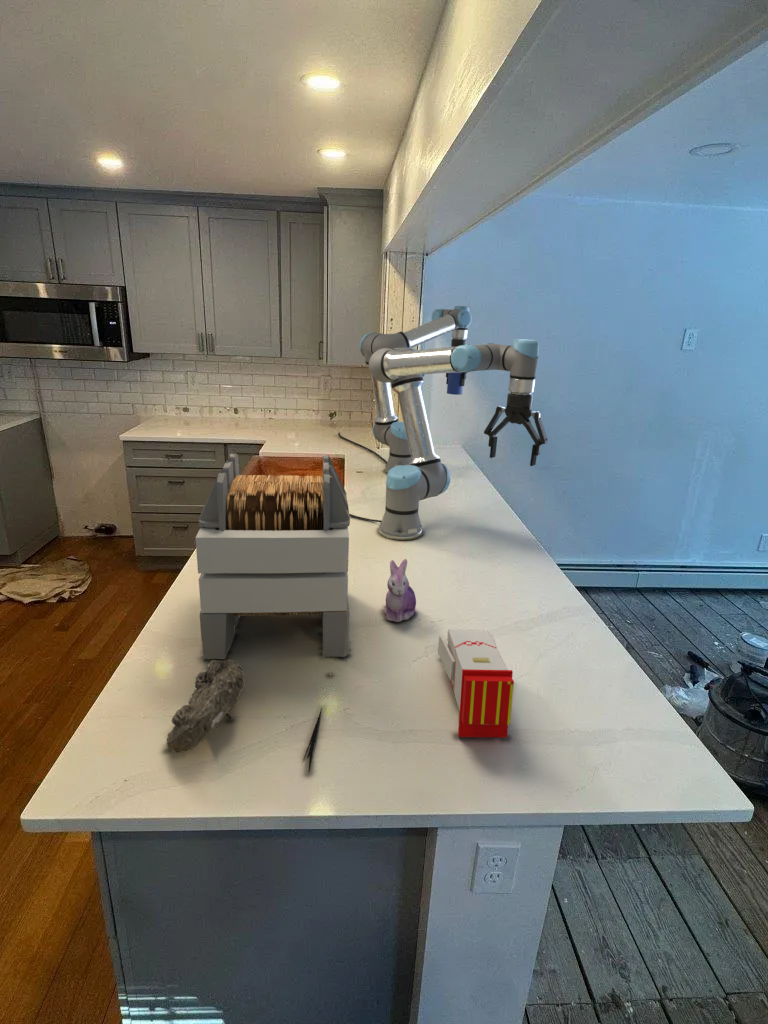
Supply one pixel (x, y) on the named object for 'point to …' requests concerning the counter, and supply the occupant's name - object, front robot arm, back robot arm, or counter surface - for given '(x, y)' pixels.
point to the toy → (478, 682)
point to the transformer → (273, 554)
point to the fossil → (206, 705)
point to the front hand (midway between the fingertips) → (512, 461)
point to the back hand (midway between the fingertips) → (455, 385)
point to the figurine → (399, 594)
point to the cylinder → (454, 383)
